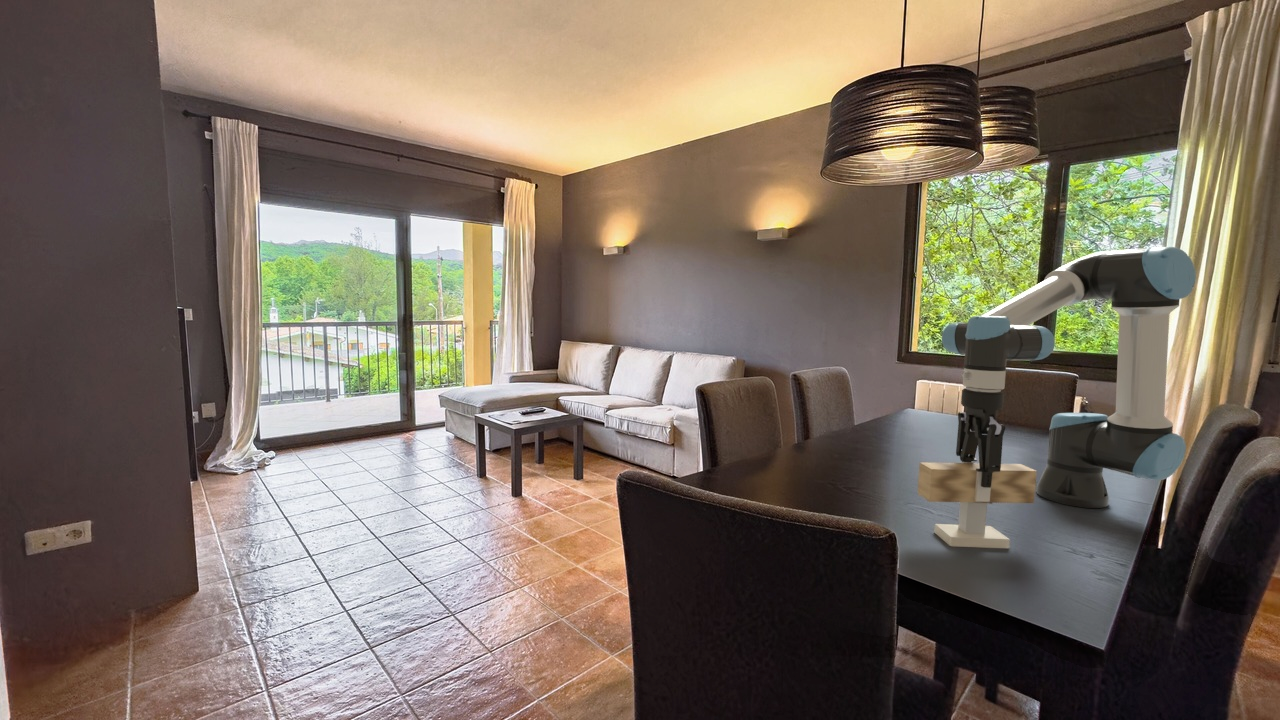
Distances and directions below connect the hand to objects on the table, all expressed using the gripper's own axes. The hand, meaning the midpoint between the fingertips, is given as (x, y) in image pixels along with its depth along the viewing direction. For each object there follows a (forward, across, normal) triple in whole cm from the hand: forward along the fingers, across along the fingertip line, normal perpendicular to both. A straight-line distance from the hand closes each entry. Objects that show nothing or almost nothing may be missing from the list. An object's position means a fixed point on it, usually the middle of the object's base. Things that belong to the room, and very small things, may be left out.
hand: (974, 495), depth 117 cm
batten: (+1, 0, 0) cm, 1 cm away
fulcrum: (+10, 0, 0) cm, 10 cm away
